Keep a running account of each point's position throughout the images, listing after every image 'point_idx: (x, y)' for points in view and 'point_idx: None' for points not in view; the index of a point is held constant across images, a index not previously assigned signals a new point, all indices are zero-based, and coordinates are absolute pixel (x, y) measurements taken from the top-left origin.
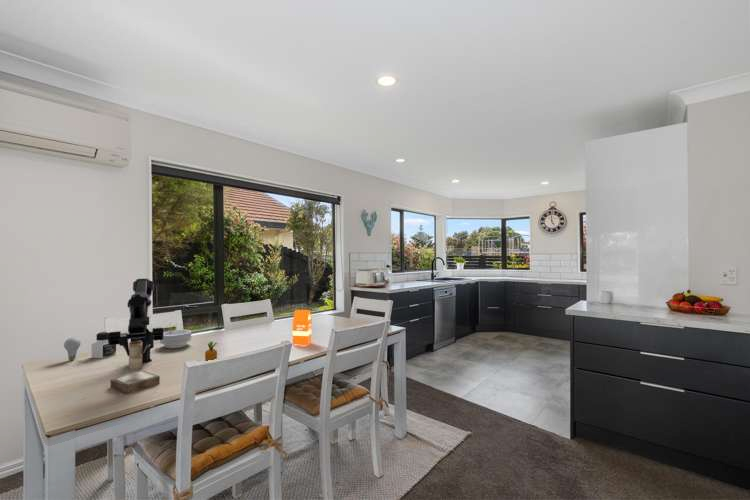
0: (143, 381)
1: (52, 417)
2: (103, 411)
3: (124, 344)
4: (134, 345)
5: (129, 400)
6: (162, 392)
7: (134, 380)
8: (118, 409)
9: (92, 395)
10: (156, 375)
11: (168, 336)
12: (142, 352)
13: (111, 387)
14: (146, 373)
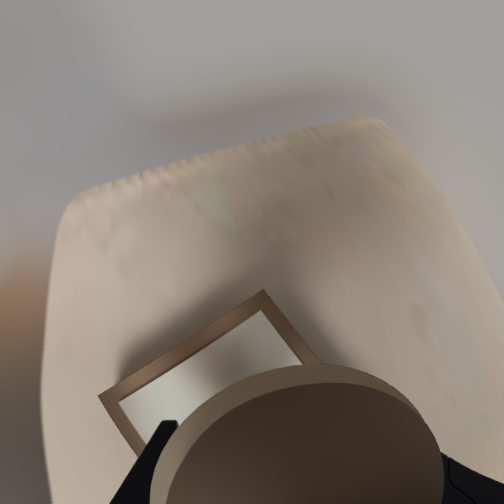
0: (181, 344)
1: (425, 184)
2: (297, 157)
3: (482, 477)
4: (305, 369)
5: (228, 216)
6: (99, 252)
7: (236, 364)
8: (251, 151)
9: (403, 345)
10: (116, 420)
11: None
12: (172, 420)
13: None
14: None
